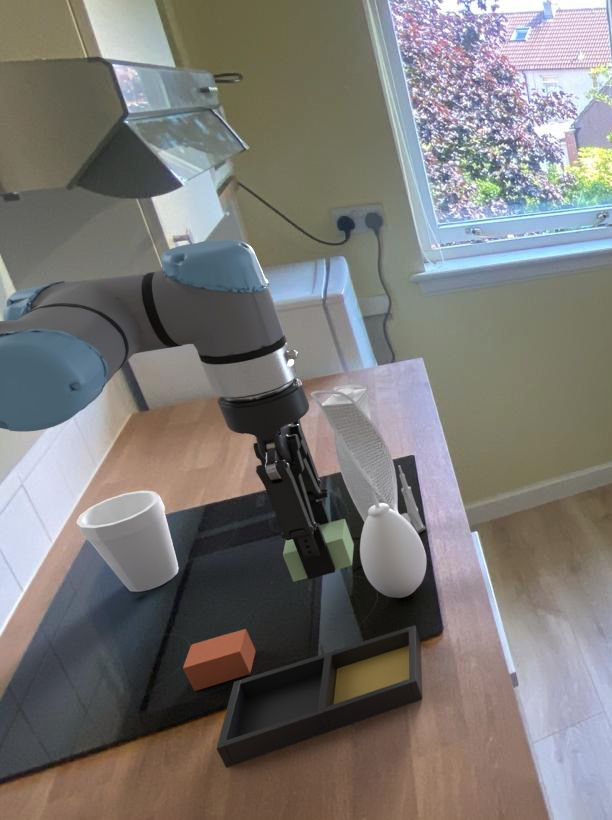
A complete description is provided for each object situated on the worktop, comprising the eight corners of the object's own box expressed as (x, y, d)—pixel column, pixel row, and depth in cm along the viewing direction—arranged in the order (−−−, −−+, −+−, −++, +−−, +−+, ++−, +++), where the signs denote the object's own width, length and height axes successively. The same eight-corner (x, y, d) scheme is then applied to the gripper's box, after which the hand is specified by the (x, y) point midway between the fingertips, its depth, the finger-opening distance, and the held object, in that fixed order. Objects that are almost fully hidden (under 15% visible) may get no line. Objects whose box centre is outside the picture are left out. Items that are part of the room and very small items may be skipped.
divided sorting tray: (225, 767, 83) (215, 748, 82) (242, 699, 92) (233, 681, 91) (422, 698, 91) (416, 680, 90) (420, 642, 100) (415, 625, 99)
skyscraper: (375, 555, 117) (323, 399, 106) (352, 537, 122) (300, 386, 110) (426, 528, 123) (382, 379, 112) (402, 512, 128) (358, 367, 116)
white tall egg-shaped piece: (363, 606, 107) (326, 503, 99) (403, 571, 114) (371, 473, 106) (407, 615, 105) (373, 511, 97) (445, 579, 112) (416, 480, 104)
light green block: (293, 582, 85) (282, 554, 83) (297, 559, 89) (287, 533, 87) (352, 565, 87) (342, 538, 86) (354, 544, 91) (344, 518, 89)
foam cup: (200, 553, 119) (170, 485, 114) (177, 589, 111) (142, 519, 106) (130, 566, 116) (95, 498, 111) (101, 605, 108) (62, 533, 103)
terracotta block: (194, 691, 93) (182, 668, 92) (202, 667, 97) (191, 644, 95) (250, 674, 96) (239, 651, 94) (256, 650, 99) (246, 628, 98)
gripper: (290, 412, 72) (355, 595, 82) (307, 351, 87) (362, 514, 97) (197, 430, 69) (277, 618, 79) (231, 364, 84) (295, 531, 94)
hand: (323, 560), depth 88 cm, fingers closed on light green block, 4 cm apart
